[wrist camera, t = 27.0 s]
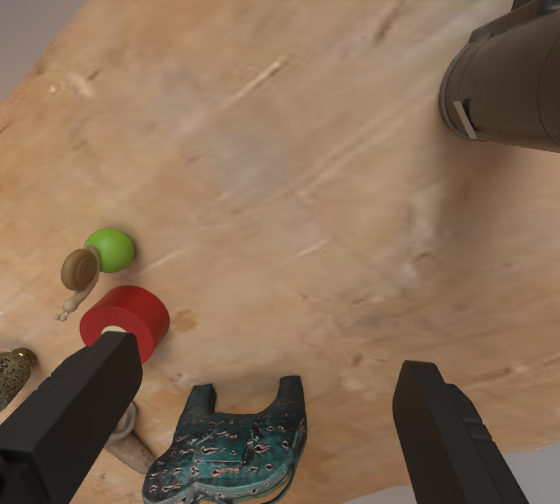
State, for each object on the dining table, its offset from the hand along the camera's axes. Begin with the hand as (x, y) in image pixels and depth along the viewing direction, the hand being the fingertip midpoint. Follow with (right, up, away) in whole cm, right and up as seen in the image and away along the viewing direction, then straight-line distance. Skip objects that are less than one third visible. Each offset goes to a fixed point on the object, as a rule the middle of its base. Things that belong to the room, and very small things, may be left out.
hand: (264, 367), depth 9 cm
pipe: (-26, -28, +46) cm, 60 cm away
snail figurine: (-20, +4, +31) cm, 37 cm away
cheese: (-21, -6, +35) cm, 41 cm away
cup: (-41, -13, +41) cm, 59 cm away
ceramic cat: (-5, -18, +40) cm, 44 cm away
